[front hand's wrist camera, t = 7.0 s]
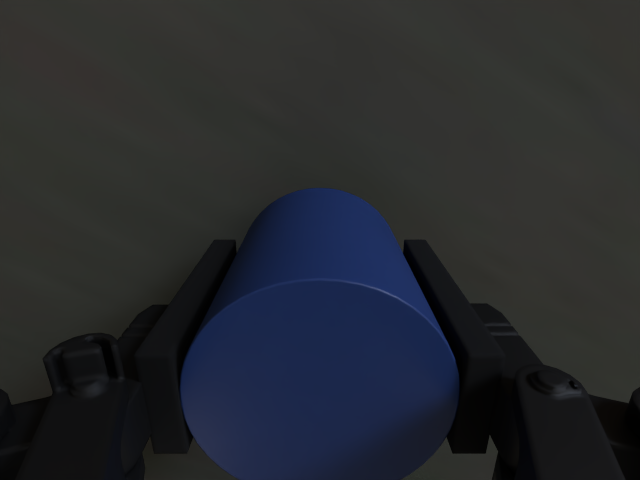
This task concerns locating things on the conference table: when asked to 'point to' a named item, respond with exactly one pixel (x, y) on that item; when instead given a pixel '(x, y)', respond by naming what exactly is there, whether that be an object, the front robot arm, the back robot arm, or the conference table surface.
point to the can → (319, 351)
